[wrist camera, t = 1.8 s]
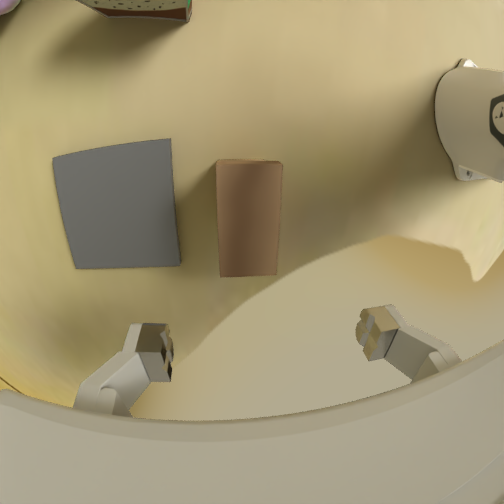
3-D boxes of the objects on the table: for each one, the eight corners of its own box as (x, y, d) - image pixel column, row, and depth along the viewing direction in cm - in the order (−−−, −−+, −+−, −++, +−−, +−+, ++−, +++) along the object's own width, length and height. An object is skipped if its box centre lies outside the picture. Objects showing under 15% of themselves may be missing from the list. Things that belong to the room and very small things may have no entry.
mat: (171, 138, 24) (169, 139, 23) (181, 261, 31) (180, 265, 30) (56, 156, 23) (52, 158, 22) (79, 264, 30) (76, 268, 29)
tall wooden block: (263, 149, 26) (282, 164, 18) (261, 230, 30) (276, 274, 22) (218, 150, 26) (215, 165, 18) (220, 232, 30) (220, 277, 22)
